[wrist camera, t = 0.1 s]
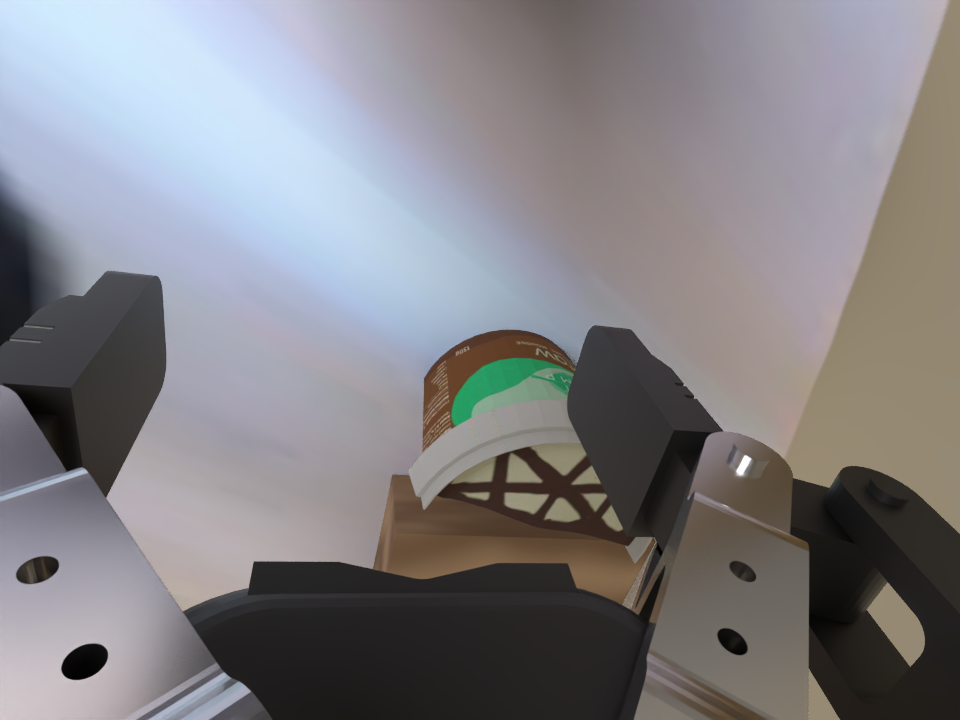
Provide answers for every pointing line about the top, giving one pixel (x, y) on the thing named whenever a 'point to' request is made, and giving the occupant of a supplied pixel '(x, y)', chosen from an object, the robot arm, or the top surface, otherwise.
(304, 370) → the top surface
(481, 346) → the food container
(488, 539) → the walnut block
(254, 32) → the top surface
